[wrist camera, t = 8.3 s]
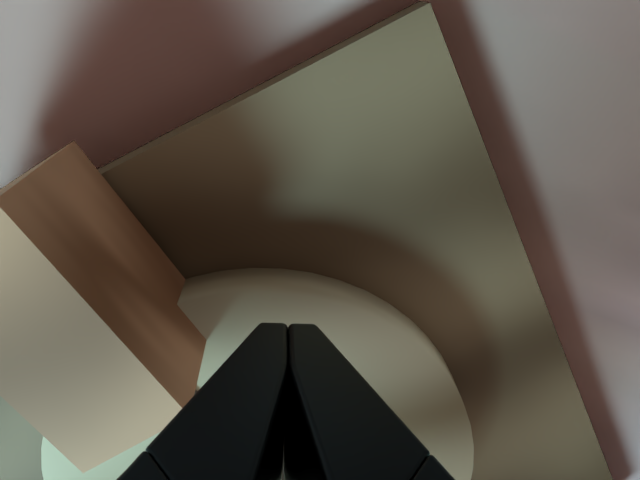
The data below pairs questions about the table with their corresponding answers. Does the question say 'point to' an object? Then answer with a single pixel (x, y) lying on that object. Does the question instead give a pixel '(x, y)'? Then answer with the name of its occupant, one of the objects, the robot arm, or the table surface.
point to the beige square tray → (370, 231)
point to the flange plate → (169, 329)
